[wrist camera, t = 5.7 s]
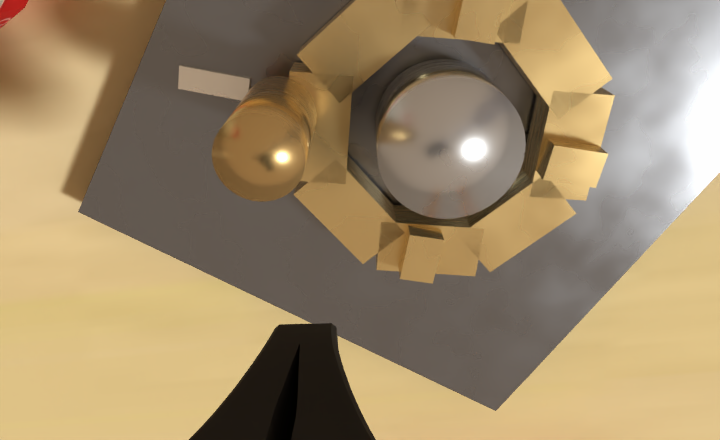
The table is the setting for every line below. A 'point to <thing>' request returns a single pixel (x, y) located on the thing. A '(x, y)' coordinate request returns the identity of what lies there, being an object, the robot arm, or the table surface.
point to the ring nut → (359, 194)
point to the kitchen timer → (10, 9)
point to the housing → (417, 175)
